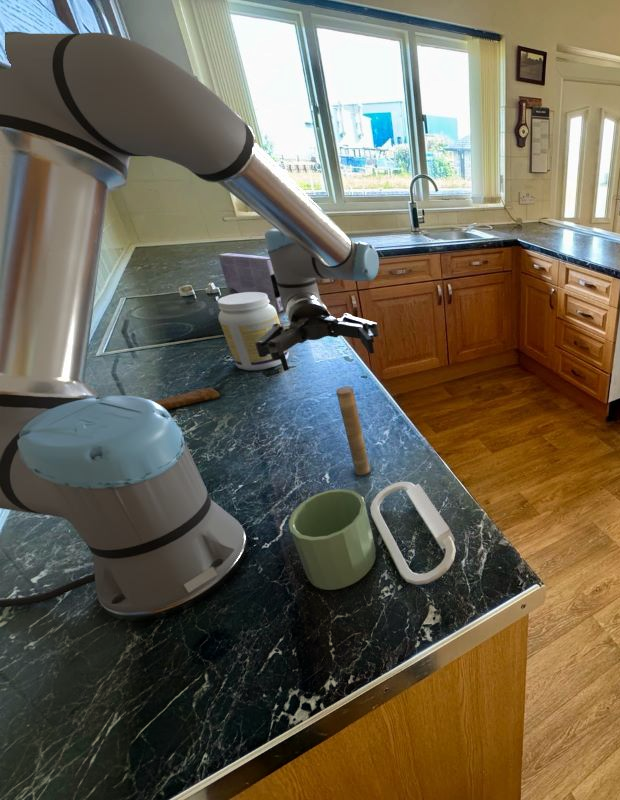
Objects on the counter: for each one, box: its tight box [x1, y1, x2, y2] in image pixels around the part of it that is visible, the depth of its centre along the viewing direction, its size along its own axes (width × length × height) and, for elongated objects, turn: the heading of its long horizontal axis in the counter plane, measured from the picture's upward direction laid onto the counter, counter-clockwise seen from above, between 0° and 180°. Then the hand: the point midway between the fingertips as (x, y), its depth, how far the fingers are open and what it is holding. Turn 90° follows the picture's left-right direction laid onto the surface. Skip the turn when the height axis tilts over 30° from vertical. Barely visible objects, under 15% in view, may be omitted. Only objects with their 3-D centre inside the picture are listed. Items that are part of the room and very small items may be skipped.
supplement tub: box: [217, 292, 289, 371], centre depth 106 cm, size 12×12×17 cm
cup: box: [288, 488, 377, 591], centre depth 55 cm, size 9×9×9 cm
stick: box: [335, 386, 371, 476], centre depth 70 cm, size 2×2×16 cm
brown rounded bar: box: [152, 387, 221, 411], centre depth 88 cm, size 19×6×4 cm, turn 143°
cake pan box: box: [218, 252, 285, 313], centre depth 143 cm, size 19×5×18 cm, turn 79°
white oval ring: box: [369, 481, 457, 586], centre depth 61 cm, size 20×8×4 cm, turn 35°
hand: (329, 354), depth 72 cm, fingers open, 13 cm apart
